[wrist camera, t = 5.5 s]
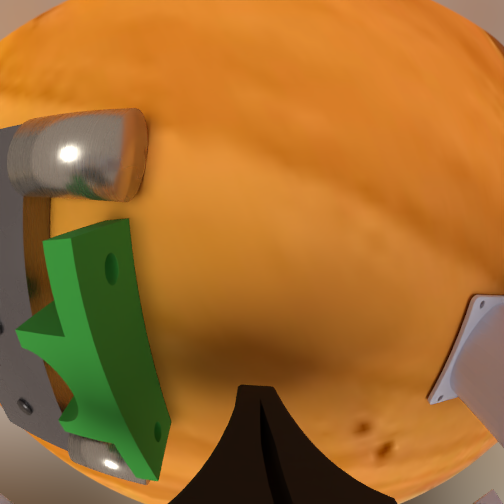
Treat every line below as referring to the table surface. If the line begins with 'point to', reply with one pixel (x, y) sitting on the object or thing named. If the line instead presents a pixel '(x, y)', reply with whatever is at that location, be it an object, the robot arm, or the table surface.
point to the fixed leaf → (33, 259)
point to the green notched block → (101, 344)
